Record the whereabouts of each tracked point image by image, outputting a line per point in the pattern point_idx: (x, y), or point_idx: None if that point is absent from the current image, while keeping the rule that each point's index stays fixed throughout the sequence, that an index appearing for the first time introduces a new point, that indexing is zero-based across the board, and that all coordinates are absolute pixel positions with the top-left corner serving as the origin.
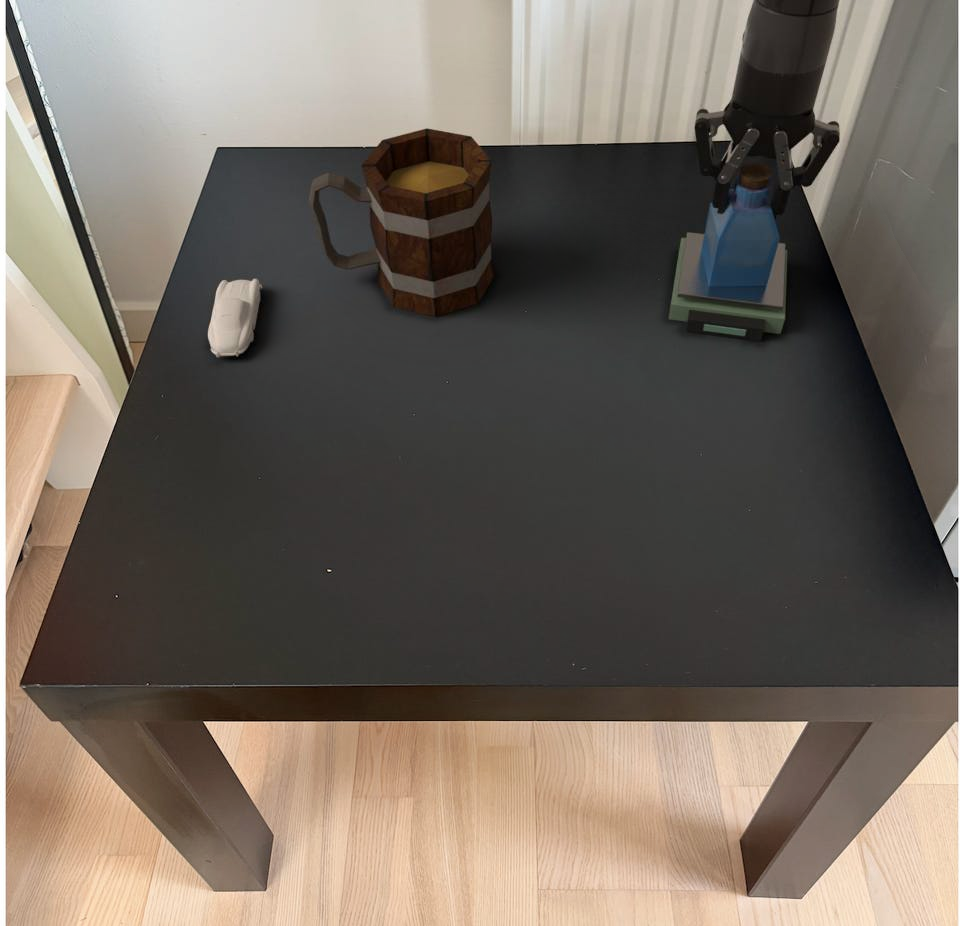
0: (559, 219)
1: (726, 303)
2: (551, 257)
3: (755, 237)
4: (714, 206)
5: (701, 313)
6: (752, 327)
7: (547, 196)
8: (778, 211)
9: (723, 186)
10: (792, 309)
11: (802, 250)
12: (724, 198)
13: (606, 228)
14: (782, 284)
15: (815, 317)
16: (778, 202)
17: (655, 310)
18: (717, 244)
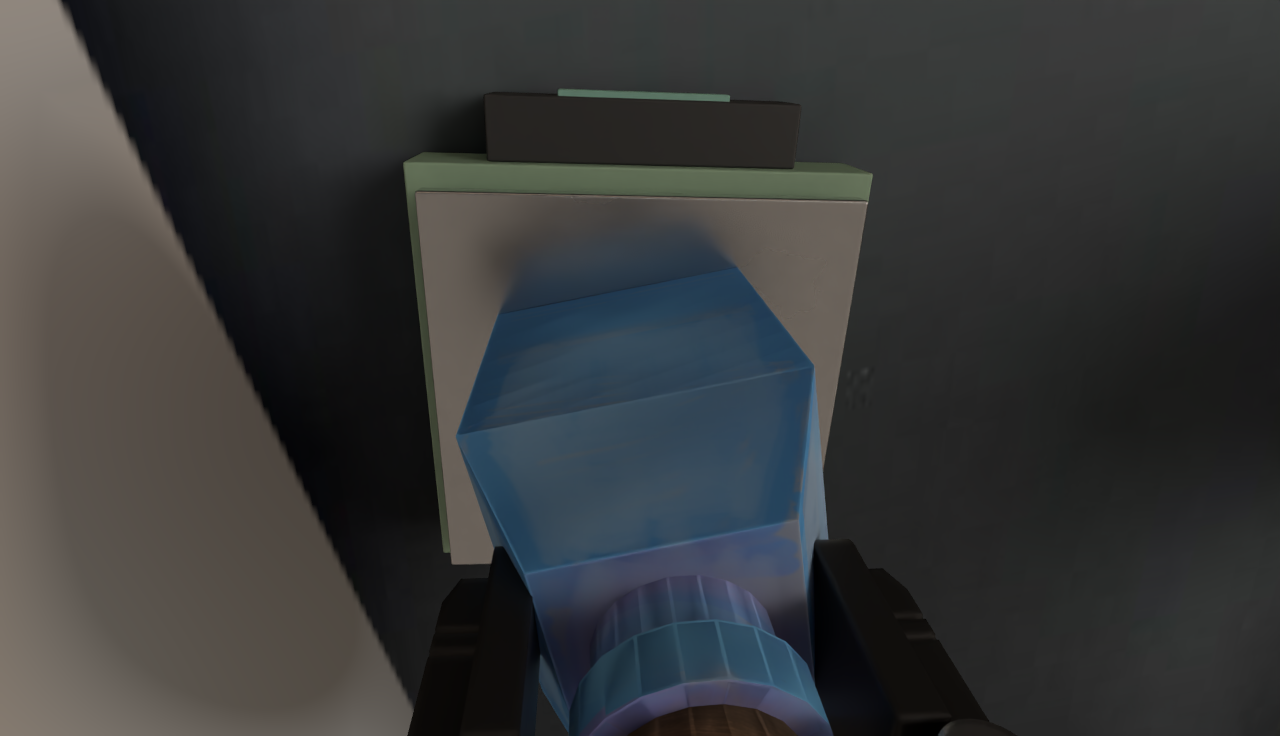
0: (1142, 577)
1: (656, 193)
2: (1203, 412)
3: (599, 414)
4: (882, 574)
5: (746, 151)
6: (534, 96)
7: (1158, 658)
8: (482, 597)
9: (939, 699)
10: (395, 304)
11: (402, 587)
12: (870, 618)
13: (1007, 567)
14: (434, 337)
15: (306, 275)
16: (487, 643)
17: (887, 207)
18: (802, 354)
